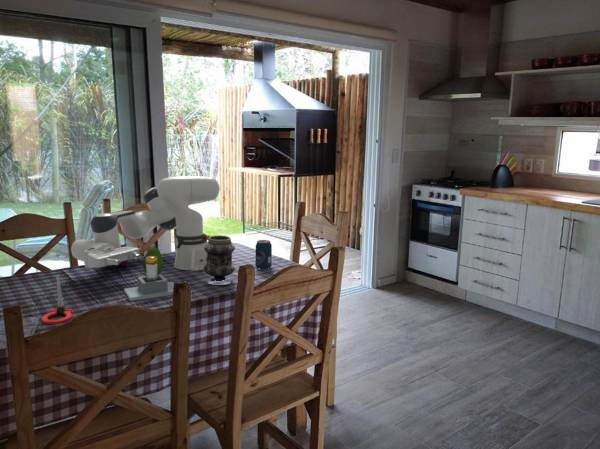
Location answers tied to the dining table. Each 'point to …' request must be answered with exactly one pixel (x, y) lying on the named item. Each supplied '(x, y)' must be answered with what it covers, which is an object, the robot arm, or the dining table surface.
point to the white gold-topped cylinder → (151, 268)
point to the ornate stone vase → (219, 257)
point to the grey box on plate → (150, 288)
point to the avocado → (156, 252)
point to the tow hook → (58, 308)
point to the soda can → (263, 254)
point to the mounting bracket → (123, 263)
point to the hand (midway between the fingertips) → (128, 259)
